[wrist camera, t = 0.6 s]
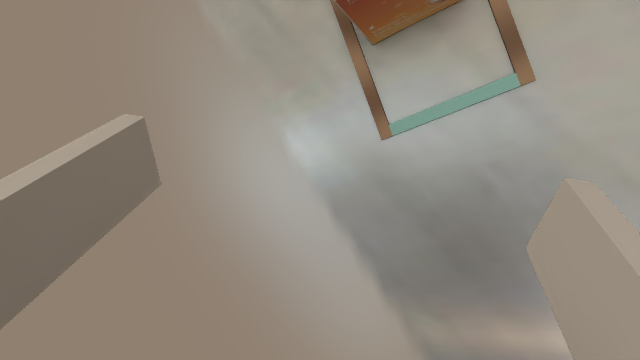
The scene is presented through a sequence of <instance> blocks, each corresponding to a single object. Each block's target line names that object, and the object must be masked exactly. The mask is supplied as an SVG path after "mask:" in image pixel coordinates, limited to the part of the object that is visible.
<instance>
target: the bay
mask: <svg viewBox="0 0 640 360" xmlns="http://www.w3.org/2000/svg"><path fill="white" fill-rule="evenodd" d="M330 1H331V4H332V6H333V9H334V12H335V14H336V17H337V20H338V23H339V25H340V28H341V31H342V33H343V36H344V39H345V42H346V44H347V47H348V50H349V52H350V55H351V58H352V61H353V63H354V66H355V69H356V71H357V74H358V77H359V79H360V82H361V85H362V88H363V90H364V93H365V96H366V98H367V101H368V104H369V107H370V109H371V112H372V115H373V117H374V120H375V123H376V126H377V128H378V131H379V134H380V136H381V139H382V140H383V139H386V138H388V137H391V136H394V135H396V134H399V133H401V132H404V131H406V130H409V129H411V128H414V127H417V126H419V125H422V124H424V123H427V122H429V121H432V120H435V119H437V118H440V117H442V116H445V115H447V114H450V113H452V112H455V111H458V110H460V109H463V108H465V107H468V106H470V105H473V104H475V103H478V102H481V101H483V100H486V99H488V98H491V97H493V96H496V95H499V94H501V93H504V92H506V91H509V90H511V89H514V88H516V87H519V86H522V85H524V84H527V83H529V82H532V81H534V80H536V79H535V76H534V74H533V71H532V68H531V65H530V63H529V60H528V57H527V55H526V52H525V49H524V46H523V44H522V41H521V38H520V36H519V33H518V30H517V27H516V25H515V22H514V19H513V16H512V14H511V11H510V8H509V6H508V3H507V0H488V1H489V3H490V6H491V9H492V12H493V14H494V17H495V20H496V23H497V25H498V28H499V31H500V33H501V36H502V39H503V42H504V44H505V47H506V50H507V52H508V55H509V58H510V61H511V63H512V66H513V69H514V72H515V74H512V75H510V76H507V77H505V78H502V79H500V80H498V81H495V82H493V83H490V84H488V85H485V86H483V87H480V88H478V89H475V90H473V91H470V92H468V93H466V94H463V95H461V96H458V97H456V98H453V99H451V100H448V101H446V102H443V103H441V104H439V105H436V106H434V107H431V108H429V109H426V110H424V111H421V112H419V113H416V114H414V115H412V116H409V117H407V118H404V119H402V120H399V121H397V122H394V123H392V124H389V123H388V120H387V117H386V115H385V112H384V109H383V107H382V104H381V101H380V98H379V96H378V93H377V90H376V88H375V85H374V82H373V79H372V77H371V74H370V71H369V69H368V66H367V63H366V60H365V58H364V55H363V52H362V50H361V47H360V44H359V41H358V39H357V36H356V33H355V31H354V28H353V25H352V22H351V20H350V19H349V18H348V16H347V15H346V14H345V13H344V12H343V11H342V10H341V9H340V7H339V6H338V5H337V4H336V3H335V2H334V0H330Z"/></svg>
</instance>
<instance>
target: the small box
mask: <svg viewBox="0 0 640 360" xmlns="http://www.w3.org/2000/svg"><path fill="white" fill-rule="evenodd" d="M459 1H461V0H334V2H335V3H336V4H337V5H338V6H339V7H340V9H341V10H342V11H343V12H344V13H345V14H346V15H347V16H348V18H349V19H350V20H351V21H352V22H353V23H354V24H355V26H356V27H357V28H358V29H359V30H360V31H361V32H362V34H363V35H364V36H365V37H366V38H367V39H368V40H369V41H370V43H371V44H373V45H374V44H376V43H378V42H380V41H382V40H383V39H385V38H387V37H389V36H391V35H392V34H394V33H396V32H398V31H400V30H402V29H404V28H406V27H408V26H410V25H412V24H414V23H416V22H418V21H420V20H423V19H425V18H427V17H429V16H431V15H433V14H435V13H437V12H439V11H441V10H443V9H445V8H447V7H449V6H451V5H453V4H455V3H457V2H459Z"/></svg>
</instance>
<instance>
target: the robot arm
mask: <svg viewBox="0 0 640 360" xmlns="http://www.w3.org/2000/svg"><path fill="white" fill-rule="evenodd" d="M160 185H161V181H160V177H159V173H158V169H157V165H156V161H155V157H154V153H153V149H152V145H151V142H150V138H149V133H148V130H147V126H146V122H145V118H144V117H140V116H133V115H126V114H123V115H122V116H120V117H118V118H116V119H114V120H112V121H110V122H108V123H106V124H105V125H103V126H101V127H99V128H97V129H96V130H93V131H92V132H90V133H88V134H86V135H84V136H82V137H80V138H78V139H76V140H74V141H73V142H71V143H69V144H67V145H65V146H63V147H61V148H59V149H57V150H55V151H54V152H52V153H50V154H48V155H46V156H44V157H42V158H40V159H38V160H37V161H35V162H33V163H31V164H29V165H27V166H25V167H23V168H22V169H20V170H18V171H16V172H14V173H12V174H10V175H8V176H6V177H4V178H3V179H1V180H0V330H1V329H2V328H3V327H4V326H5V325H6V324H7V323H8V322H9V321H10V320H12V319H13V318H14V317H15V316H16V315H17V314H18V313H19V312H21V311H22V310H23V309H24V308H25V307H26V306H27V305H28V304H29V303H30V302H32V301H33V300H34V299H35V298H36V297H37V296H38V295H39V294H40V293H42V292H43V291H44V290H45V289H46V288H47V287H48V286H49V285H50V284H51V283H53V282H54V281H55V280H56V279H57V278H58V277H59V276H60V275H62V273H64V272H65V271H66V270H67V269H68V268H69V267H70V266H71V265H72V264H74V263H75V262H76V261H77V260H78V259H79V258H80V257H81V256H83V255H84V254H85V253H86V252H87V251H88V250H89V249H90V248H91V247H93V246H94V245H95V244H96V243H97V242H98V241H99V240H100V239H101V238H102V237H104V235H106V234H107V233H108V232H109V231H110V230H111V229H113V228H114V227H115V226H116V225H117V224H118V223H119V222H120V221H121V220H122V219H124V218H125V217H126V216H127V215H128V214H129V213H130V212H131V211H132V210H134V209H135V208H136V207H137V206H138V205H139V204H140V203H141V202H142V201H144V200H145V199H146V198H147V197H148V196H149V195H150V194H151V193H152V192H154V191H155V190H156V189H157V188H158V187H159V186H160ZM525 249H526V251H527V253H528V256H529V258H530V260H531V262H532V265H533V267H534V269H535V272H536V274H537V276H538V279H539V281H540V283H541V285H542V288H543V290H544V292H545V295H546V297H547V299H548V301H549V304H550V306H551V308H552V311H553V313H554V315H555V317H556V320H557V322H558V324H559V327H560V329H561V331H562V334H563V336H564V338H565V340H566V343H567V345H568V347H569V350H570V352H571V354H572V356H573V359H574V360H640V234H639V232H638V231H637V230H636V229H635V228H634V227H633V226H632V225H631V223H630V222H629V221H628V220H627V219H626V218H625V217H624V216H623V214H622V213H621V212H620V211H619V210H618V209H617V208H616V207H615V205H614V204H613V203H612V202H611V201H610V200H609V199H608V198H607V196H606V195H605V194H604V193H603V192H602V191H601V190H600V189H599V187H598V186H597V185H596V184H595V183H594V182H589V181H582V180H575V179H568V178H564V179H563V181H562V183H561V185H560V186H559V188H558V190H557V192H556V194H555V195H554V197H553V199H552V201H551V203H550V204H549V206H548V208H547V210H546V212H545V213H544V215H543V217H542V219H541V221H540V223H539V224H538V226H537V228H536V230H535V232H534V233H533V235H532V237H531V239H530V241H529V242H528V244H527V246H526V248H525Z"/></svg>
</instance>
